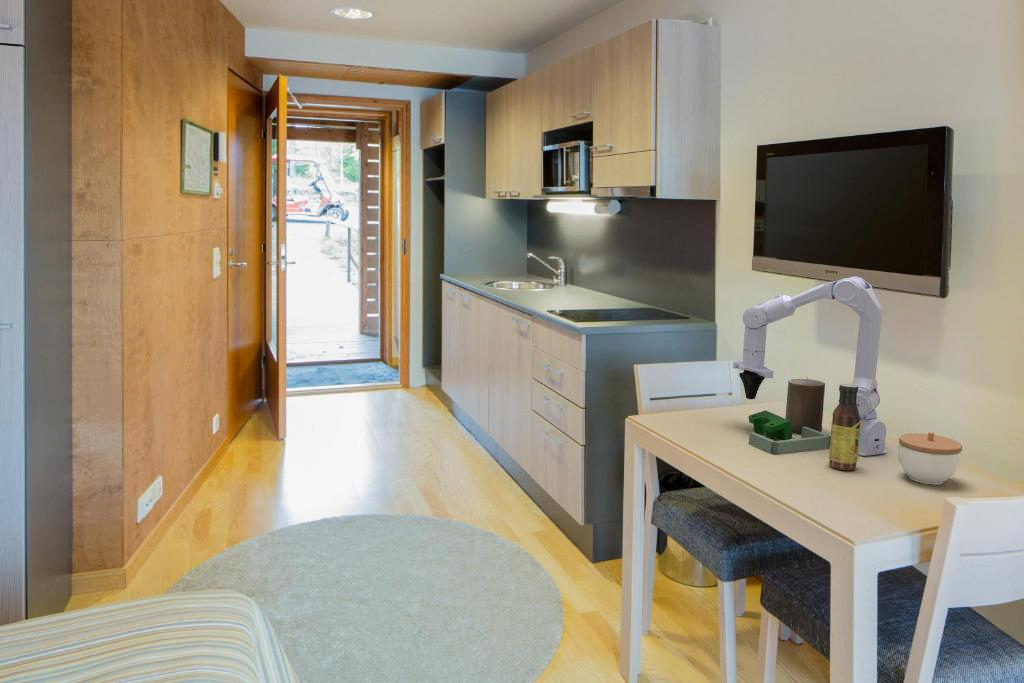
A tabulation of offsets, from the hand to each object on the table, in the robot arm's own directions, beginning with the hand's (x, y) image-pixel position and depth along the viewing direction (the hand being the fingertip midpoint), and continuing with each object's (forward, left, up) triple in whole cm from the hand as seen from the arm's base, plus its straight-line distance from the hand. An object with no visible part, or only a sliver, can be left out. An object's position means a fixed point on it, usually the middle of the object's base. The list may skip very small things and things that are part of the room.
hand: (750, 398), depth 215 cm
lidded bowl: (-48, -12, -9) cm, 50 cm away
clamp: (-8, 0, -9) cm, 12 cm away
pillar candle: (-6, -14, -9) cm, 17 cm away
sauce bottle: (-35, 0, -9) cm, 36 cm away
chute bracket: (-16, 0, -9) cm, 18 cm away
